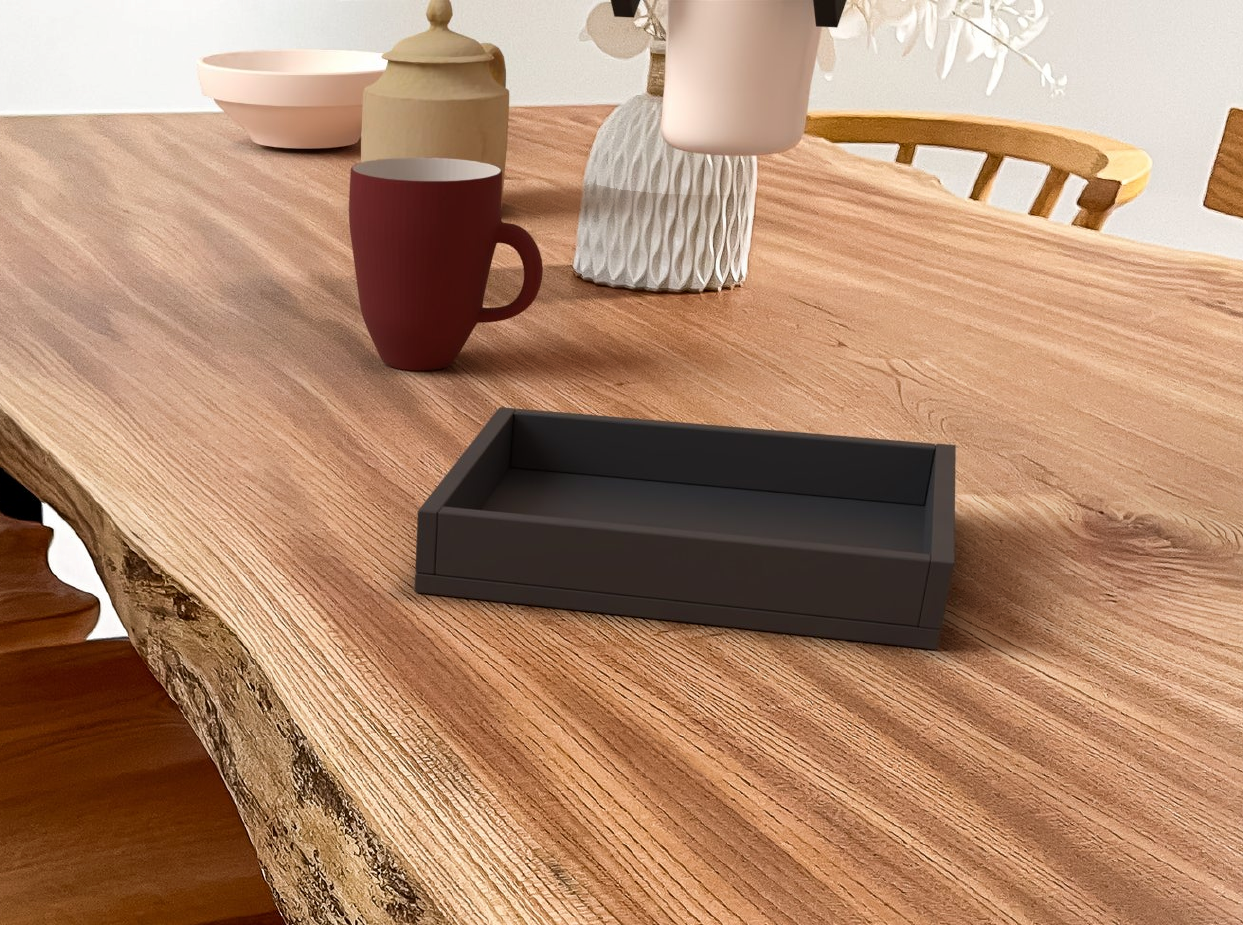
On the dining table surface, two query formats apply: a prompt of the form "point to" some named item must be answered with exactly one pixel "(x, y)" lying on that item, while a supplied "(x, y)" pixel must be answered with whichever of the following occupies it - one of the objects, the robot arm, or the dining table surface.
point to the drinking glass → (738, 75)
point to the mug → (430, 255)
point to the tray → (698, 525)
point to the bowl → (293, 93)
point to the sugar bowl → (438, 98)
